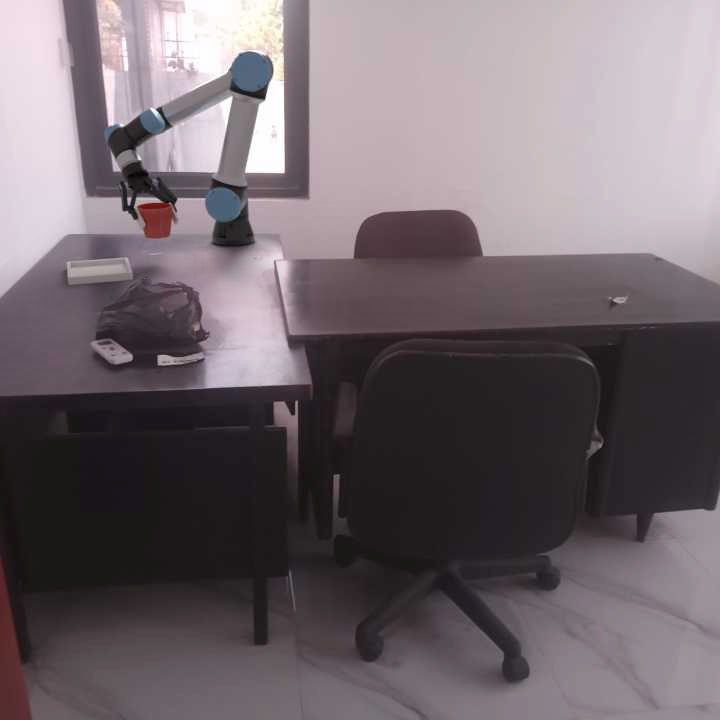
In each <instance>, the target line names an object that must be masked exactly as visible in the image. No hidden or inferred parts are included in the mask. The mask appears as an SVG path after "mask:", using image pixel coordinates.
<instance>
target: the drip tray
mask: <svg viewBox="0 0 720 720" xmlns="http://www.w3.org/2000/svg"><path fill="white" fill-rule="evenodd" d="M129 260H130V259H129V258H128V257H117V258H116V257H115V258H104V259H103V258H101V259H99V258H98V259H87V260H75V261H74V260H72V261H66V270H67V271H66V272H67V274H66V275H67V283H68V286H73V285H83V284H97V283H98V284H99V283H109V282H123V281H133V280H134V273H133V270H132V266H131V263H130V261H129ZM132 279H133V280H132Z"/></svg>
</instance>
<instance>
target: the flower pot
mask: <svg viewBox="0 0 720 720" xmlns="http://www.w3.org/2000/svg"><path fill="white" fill-rule="evenodd" d="M136 207H137V208H138V210H139V212H140V214H141V216H142V218H143V220H144V222H145V227H144V229H143V230H142V231H143V234H144V237H145V238H146V239H149V240H150V239H151V240H152V239H153V240H156V239H158V240H160V239H165V238H169V237H170V236H171V231H172V229H171V228H172V222H173V220H172V210H173V206H172V205H171V204H168V203H163V202H148V203H147V202H146V203H142V204H138V205H137V206H136Z"/></svg>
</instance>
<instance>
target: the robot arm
mask: <svg viewBox="0 0 720 720" xmlns="http://www.w3.org/2000/svg"><path fill="white" fill-rule="evenodd" d="M274 72H275V71H274V64H273V61H272V59H271V58H270V57H269V55H268V54H266V53H265V52H263V51H261V50H258V49H246V50H243V51H241V52H239V53H238V54H237V55H236V56H235V57H234V60H233V61H232V63H231V65H229V66H227V70H226V71H224V72H223V73H221V74H219V75H217V76H215V77H213V78H211V79H210V80H208V81H206V82H204V83H202V84H200V85H198V86H196V87H194V88H193V89H191V90H188V91H186V92H185V93H182V94H181V95H179V96H177V97H175V98H174V99H171V100H170V101H167V102H166V103H164V104H162V105H161V106H158V107H156V108H153V107H149V108H148V109H146V110H144V111H142V112H141V113H140V114H139V115H137V116H136V117H134V119H132V120H131V121H129V122H128V123H127V124H125V125H123V124H121V123H114V124H113V125H110V126H108V127H107V128H106V129H105V130H104V132H103V133H104V139H105V141H106V143H107V147H108V148H109V151H110V152H111V154H112V156H113V157H114V160H115V162H116V163H117V166H118V168H119V170H120V172H121V175H122V176H123V179H124V181H125V182H124V181H123V180H122V181H120V182H119V185H118V189H119V191H120V199H121V209H122V211H123V212H127V213H128V214H129V215H130V216H131V218H132V219H133V220H134V221H136V222H137V224H138V226H139V229H140V231H143V229H144V227H145V222H144V220H143V218H142V216H141V214H140V212H139V210H138V208H137V206H136V207H135V204H136V200H137V197H138V195H142V194H149V195H150V196H153V197H154V198H156V199H158V200H159V201H160V202H161V203H168V204H171V205H172V206H173V210H172V222H173V225H178V223H179V220H180V218H179V216H178V214H177V213H178V209H177V207H176V204H177V201H178V197H177V196H176V195H175V193H173V192H172V191H171V189H170V188H169V187H167V185H166V184H165V183H164V182H163V181H162V178H161V177H159V176H157V177H156V178H153V179H152V178H151V177H150V175H149V171H148V170H147V168H146V165H145V164H144V162H143V159H142V157H141V156H140V153H139V152H138V150H137V149H138V148H139V147H141V146H142V145H143V144H145V143H146V142H148V141H149V140H151V139H152V138H153V137H155V136H158V135H161V134H163V133H165V132H167V131H169V130H170V129H172V128H174V127H176V126H178V125H181V123H183V122H185V121H187V120H189V119H191V118H193V117H195V116H197V115H198V114H200V113H202V112H204V111H206V110H208V109H211V108H212V107H214V106H216V105H218V104H220V103H222V102H224V101H226V100H227V99H229V98H231V97H232V99H231V104H230V109H229V113H228V118H227V125H226V129H225V134H224V138H223V144H222V148H221V152H220V153H221V155H220V159H219V163H218V168H217V172H215V173H213V174H212V175H211V180H210V184H209V189H208V193H207V194H206V196H205V198H204V199H205V200H204V207H205V210H206V212H207V213H208V215H209V216H210V218H212V220H215V221H214V225H213V229H212V231H211V232H212V233H211V242H212V243H213V244H215V245H220V246H228V247H229V246H231V247H233V246H244V245H245V246H246V245H249V244H252V243H254V242H255V240H256V239H255V232H254V229H253V226H252V223H251V222H250V218H249V217H250V216H249V215H250V214H249V192H248V191H249V190H248V187H249V183H248V178H247V177H246V176H245V174H246V169H247V165H248V160H249V156H250V155H249V154H250V149H251V146H252V140H253V136H254V131H255V128H256V122H257V117H258V112H259V108H260V105H261V104H262V103H264V102H265V101H266V98H267V94H268V91H269V90H268V89H269V84H270V83H271V81H272V79H273V77H274ZM127 189H130V190H131V191H132V193H131V198H130V202H129V203H128V201H129V200H128V192H127V191H128V190H127Z"/></svg>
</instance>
